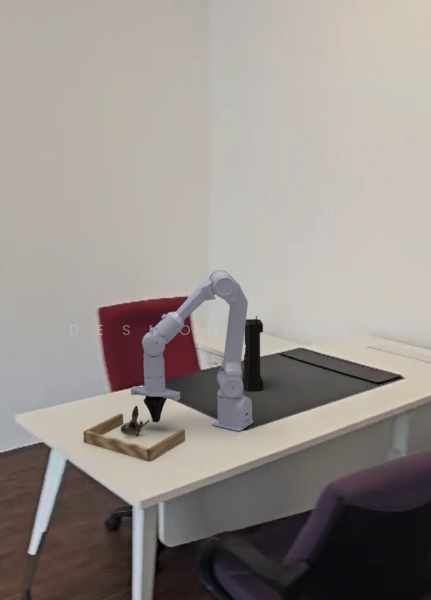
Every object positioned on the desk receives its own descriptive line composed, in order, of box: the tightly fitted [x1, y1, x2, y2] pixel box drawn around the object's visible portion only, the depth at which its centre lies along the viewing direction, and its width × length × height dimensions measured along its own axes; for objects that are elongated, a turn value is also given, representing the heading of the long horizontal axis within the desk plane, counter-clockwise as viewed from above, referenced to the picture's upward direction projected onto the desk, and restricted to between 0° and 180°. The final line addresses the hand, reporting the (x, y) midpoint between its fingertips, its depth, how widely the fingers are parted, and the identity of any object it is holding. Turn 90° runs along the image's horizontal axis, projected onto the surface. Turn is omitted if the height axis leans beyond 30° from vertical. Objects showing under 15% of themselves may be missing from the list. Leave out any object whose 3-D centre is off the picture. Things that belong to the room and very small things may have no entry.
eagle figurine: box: [120, 405, 150, 438], centre depth 185 cm, size 8×7×9 cm
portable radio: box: [242, 315, 264, 392], centre depth 217 cm, size 8×6×25 cm
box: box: [83, 413, 186, 462], centre depth 178 cm, size 23×15×3 cm, turn 57°
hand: (156, 421), depth 186 cm, fingers closed
